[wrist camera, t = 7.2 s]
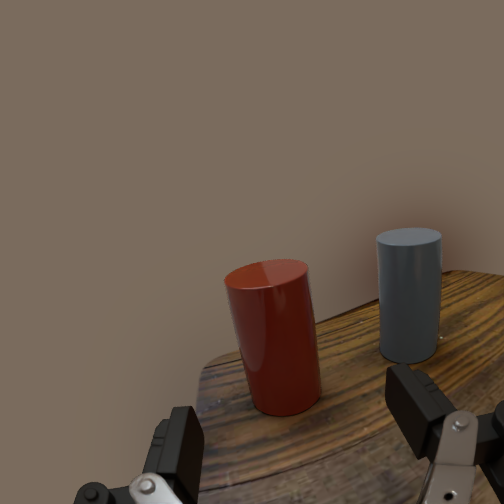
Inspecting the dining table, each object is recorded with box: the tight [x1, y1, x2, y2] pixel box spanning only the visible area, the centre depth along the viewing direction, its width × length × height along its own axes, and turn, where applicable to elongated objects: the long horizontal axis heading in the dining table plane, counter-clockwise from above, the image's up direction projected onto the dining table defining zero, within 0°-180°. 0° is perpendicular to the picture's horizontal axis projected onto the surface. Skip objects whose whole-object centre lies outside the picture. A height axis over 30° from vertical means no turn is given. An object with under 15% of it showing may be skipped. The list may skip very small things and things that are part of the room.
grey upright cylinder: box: [376, 228, 442, 364], centre depth 22 cm, size 5×5×10 cm
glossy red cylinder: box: [224, 259, 321, 416], centre depth 21 cm, size 5×5×10 cm
